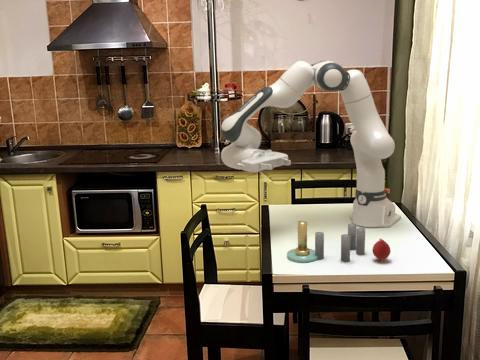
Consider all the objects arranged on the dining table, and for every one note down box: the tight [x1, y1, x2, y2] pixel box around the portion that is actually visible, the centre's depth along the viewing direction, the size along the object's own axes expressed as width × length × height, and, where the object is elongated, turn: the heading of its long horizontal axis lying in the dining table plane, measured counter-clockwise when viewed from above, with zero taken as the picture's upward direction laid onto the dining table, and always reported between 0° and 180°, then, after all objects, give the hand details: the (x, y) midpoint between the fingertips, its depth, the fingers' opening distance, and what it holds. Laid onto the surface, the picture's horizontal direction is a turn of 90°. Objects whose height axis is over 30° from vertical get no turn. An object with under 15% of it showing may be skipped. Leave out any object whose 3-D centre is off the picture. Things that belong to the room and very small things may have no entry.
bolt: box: [294, 220, 311, 256], centre depth 187 cm, size 5×5×12 cm
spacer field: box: [314, 223, 366, 263], centre depth 188 cm, size 18×11×9 cm, turn 134°
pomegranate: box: [371, 237, 391, 262], centre depth 182 cm, size 6×6×8 cm
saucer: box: [286, 248, 318, 264], centre depth 188 cm, size 11×11×1 cm
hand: (280, 165), depth 196 cm, fingers open, 8 cm apart
